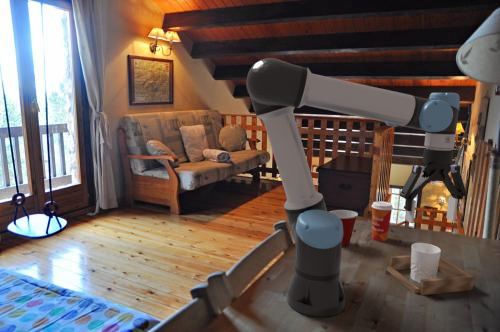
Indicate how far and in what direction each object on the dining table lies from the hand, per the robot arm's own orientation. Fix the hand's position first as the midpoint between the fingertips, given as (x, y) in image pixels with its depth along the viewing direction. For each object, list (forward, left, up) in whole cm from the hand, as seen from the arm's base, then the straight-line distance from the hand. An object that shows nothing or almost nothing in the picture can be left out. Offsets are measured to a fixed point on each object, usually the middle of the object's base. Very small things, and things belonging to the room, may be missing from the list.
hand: (430, 220), depth 110 cm
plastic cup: (-13, +30, -19) cm, 38 cm away
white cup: (0, 0, -19) cm, 19 cm away
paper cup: (+4, +32, -19) cm, 37 cm away
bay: (+1, 0, -18) cm, 18 cm away
